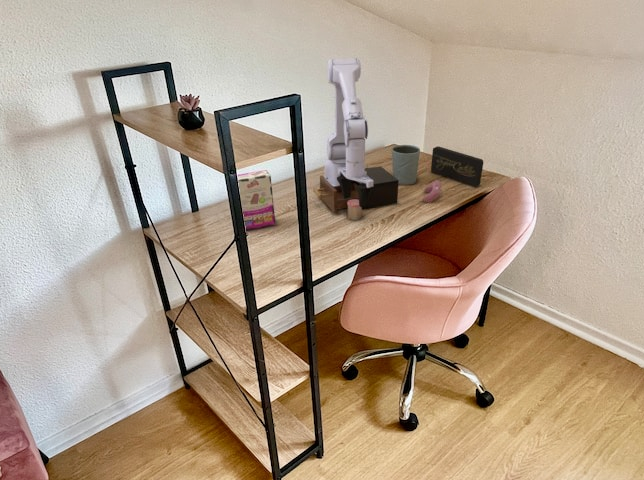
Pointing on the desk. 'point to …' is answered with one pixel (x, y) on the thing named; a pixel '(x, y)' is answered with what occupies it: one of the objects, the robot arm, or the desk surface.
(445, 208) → the desk surface
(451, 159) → the nameplate
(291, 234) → the desk surface
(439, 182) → the pink curved piece
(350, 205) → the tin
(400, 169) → the green cup
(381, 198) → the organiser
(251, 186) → the candy bar box
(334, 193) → the drawer
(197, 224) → the desk surface
